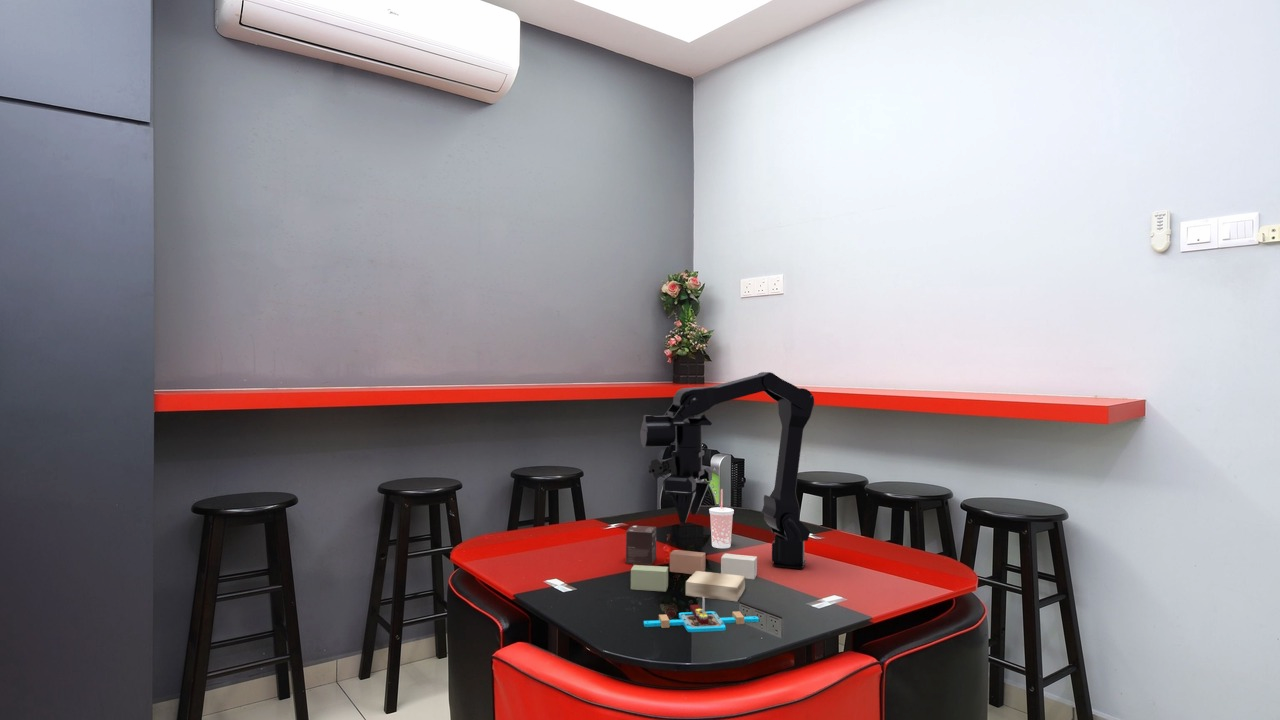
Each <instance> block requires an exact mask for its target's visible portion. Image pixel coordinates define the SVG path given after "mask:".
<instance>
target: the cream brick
mask: <svg viewBox="0 0 1280 720" xmlns="http://www.w3.org/2000/svg"><path fill="white" fill-rule="evenodd" d="M757 570H758V556H756V555H746V554H745V555H743V554H734V553H723V554H722V556H721V557H720V573H721V574H730V575H740V576H745V580H746V579H749V580H755V579H756V577H757V576H758V571H757Z"/></svg>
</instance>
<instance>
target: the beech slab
mask: <svg viewBox="0 0 1280 720" xmlns="http://www.w3.org/2000/svg"><path fill="white" fill-rule="evenodd" d="M745 589H746V578H745V576H740V575H730V574H721V572H720V573H719V572H711V571H705V572H702V571H696V572H695V573H694V574H691V576H689V578H688V579H687V580H685V596H688V597H696V598H703V597H705V599H712V600H713V599H714V600H721V601H730V602H738V600H740V598H741V596H742V595H743V593H744V592H745Z"/></svg>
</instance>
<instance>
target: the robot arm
mask: <svg viewBox="0 0 1280 720" xmlns="http://www.w3.org/2000/svg"><path fill="white" fill-rule="evenodd" d="M761 392H764V393H765V394H766V395H767V396H768V397H769V398H771V399H772V400H774V401H775V402H777V403H778V405H777V406H778V416H779V420H780V422H781V434H780V441H779V450H778V456H777V457H778V458H777V466H776V474H775V481H774V488H773V490H772V491H771V493H770V495H767V494H764V496H763V506H762V509H761V513H762V514H763V520H764V522H766V523H765V524H766V525H768V526H769V527H770V530H771V533H772V534H775V536H774V540H773V541H772V543H771V561H772V566H773V567H776V568H777V567H778V568H788V569H796V570H797V569H798V570H802V569H803V568H804V567H805V564H806V559H805V542H807V541H808V540H809V536H810V533H811V531H810V530H809V529H808V528H807V526H805V525H804V523H803V522H801V520H800V519H801V518H800V513H801V512H800V505H799V501H798V497H797V491H796V490H797V484H798V483H797V482H798V476H799V475H798V474H799V473H798V472H799V467H800V460H801V459H800V457H801V451H802V444H803V443H802V442H803V435H804V430H805V427H806V425H807V424H808V422H809V421H810V419H811V416H812V413H813V410H814V406H815V397H814V395H813V394H812V393H811V391H809V389H807V388H803V387H802V388H801V387H797V386H796V385H794V384H792V383H790V382H788V381H786V380H784V379H782V378H780V377H779V376H777V375H776V374H775V373H773V372H772V371H771V372H769V371H761V372H759V373H757V374H754V375H750V376H747V377H743V378H738V379H735V380H731V381H727V382H724V383H720V384H717V385H716V384H715V385H712V386H697V387H682V388H680V389H678V390H677V391H676V393H675V394H674V396H673V399H672V404H671V405H670V407H669V408H668V409H667V411H666V412H665V413H664V415H651V414H649V415H648V414H644V415H643V421H642V423H641V428H640V432H639V434H640V436H639V437H640V443H641V446H642V448H660V447H661V448H665V447H667V448H669V447H670V446H671V445H672V444H674V442H675V450H674V451H673V452H672V453H671V457H670V458H666V459H664V460H663V459H661V458H660V457H658V458H655V459H652V460H650V465H648V468H649V469H648V473H649V474H651V477H652V478H653V480H657V479H659V478H660V477H663V476H667V475H669V474H670V475H669V476H667V477H666V478H665V479H664V480H663V481H662V491H664V492H665V494H666V495H669V496H670V497H671V498H672V499H673V501H674V505H675V508H676V512H677V517H678V520H679V523H681V524H685V523H687V519H688V516H689V514H690V513H691V515H693V516H695V515H697V514H698V512H699V509H700V508H701V504H702V502H703V500H704V497H705V496H706V492H707V491H708V489H709V486H710V485H711V481H712V480H713V471H712V469H710V467H708V466H703V457H704V456H705V450H703V426H712V424H713V423H712V421H711V420H709V419H708V418H707V416H706V415H705V414H703V413H705V412H707V411H708V410H710V409H712V408H714V407H715V406H717V405H719V404H721V403H725V402H729V401H731V400H735V399H739V398H743V397H745V396H749V395H754V394H758V393H761ZM690 416H692V417H690ZM694 416H697V417H694ZM676 421H677V422H676ZM705 480H706V481H705Z"/></svg>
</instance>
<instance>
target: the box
mask: <svg viewBox="0 0 1280 720" xmlns="http://www.w3.org/2000/svg"><path fill="white" fill-rule="evenodd" d="M625 532H626V533H625V535H626V537H625V563H626V564H633V565H646V566H652V565H653V564H654V562H655V561H656V559H657V527H656V526H646V525H645V526H644V525H643V526H642V525H631V526H630V527H628V529H627V530H626V531H625Z"/></svg>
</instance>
